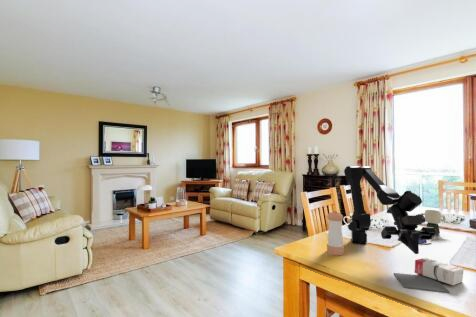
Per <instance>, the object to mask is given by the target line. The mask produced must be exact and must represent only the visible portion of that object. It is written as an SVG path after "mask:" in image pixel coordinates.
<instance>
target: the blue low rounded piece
mask: <svg viewBox="0 0 476 317" xmlns="http://www.w3.org/2000/svg"><path fill="white" fill-rule="evenodd" d="M432 242H433V241H432V240H422V239H421V238H419V241H418V244H420V245H421V244H423V245H424V244H426V245H428V244H432Z"/></svg>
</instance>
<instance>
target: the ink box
mask: <svg viewBox="0 0 476 317" xmlns="http://www.w3.org/2000/svg"><path fill="white" fill-rule="evenodd" d="M414 274H416V275H420V276H426V277H429V278H432V279H435V280H438V281H439V282H440V283H444V284H448V285H450V286H456V285H457V284H460V283H463V280H464V279H463V278H464V268H462V267H459V266H456V265H452V264H448V263H445V262H442V261H439V260H435V259H432V258H428V257H423V258H417V259H415V260H414Z"/></svg>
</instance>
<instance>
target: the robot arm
mask: <svg viewBox="0 0 476 317" xmlns="http://www.w3.org/2000/svg"><path fill="white" fill-rule="evenodd" d="M343 171H344V172H343V173H344V176H345V179H346V181H347V182H348V183H349V187H350V193H351V200H352V206H353V213H352V215H351V221H350V222H349V223H348V224H347V229H348V230H349V231H351V234H350V235H351V238H350V240H351V242H352V244H359V245H368V244H367V242H368V234H367V231H369V229H370V226H371V225H372V223H371V222H373V221H372V220H371V214H370V213H368V212H366V210H365V205H364V198H363V193H362V187H361V181H362V178H363V179H365V180H366V181H367V183H368V184H369V185H370V186H371V187H372V189H373V190H374V191H375V192H376V198H377V200H379V203H380V204H381V205H383V206H389V207H388V208H387V210H386V213H387V214H391V216H392V219H393V221H394V222H393V225H392V226H391V225H389V226H387V225H385V226H384V227H383V229H382V230H381V232H380V236H381V238H382V239H383V240H391V238H392V236H397V237H398V238H397V241H398V242H401V243H402V244H403V245H405V246H406V247H407V248H408V249H409V250H410V251H411V252H412V253H413V254H414V255H418V254H419V251H420V249H419V247H420V246H419V243H418V241H419V238H421V239H422V240H430V241H432V239H433V238H434V237H435V236H436V235H438V234H437V231H436V229H435V228H433V227H427V226H423V227H421V229H418V228H419V225H422V224H424V223H426V221H425V215H423V214H421V213H418V214H415V215H409V213H408V212H412V211H414V210H415V209H416V208H417V207H419V206H420V205H421V204H422V203H423V200H422V198H421V197H420V195H418V194H417V193H415V192H412V190H405V191H404V193H403V194H401V195H400V194H399V193H398V192H397V191H395V190H394V189H393V188H391V187H389V186H387V185H386V184H385V182H383V181H382V180H381V178H380V177H378V175H377V174H376V173H375V172H374V171H373V170H372V167H370V166H368V165H367V166H359V165H347V166H346V167H345V168H344V170H343Z"/></svg>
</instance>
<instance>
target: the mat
mask: <svg viewBox="0 0 476 317" xmlns="http://www.w3.org/2000/svg"><path fill="white" fill-rule="evenodd" d="M393 274H394V276H395V277H396V279H397V280H398V282H399V283H400V285H401V286H402V287H403V288H404V289H412V290H413V289H414V290H421V291H431V292H437V291H439V292H438V293H447V294H448V293H449V294H450V290H448V289H447V287H445V286H444V285H443V284H442V282H441V281H438V280H435V279H432V278H429V277H426V276H423V275H420V274H408V273H400V272H393Z"/></svg>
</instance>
